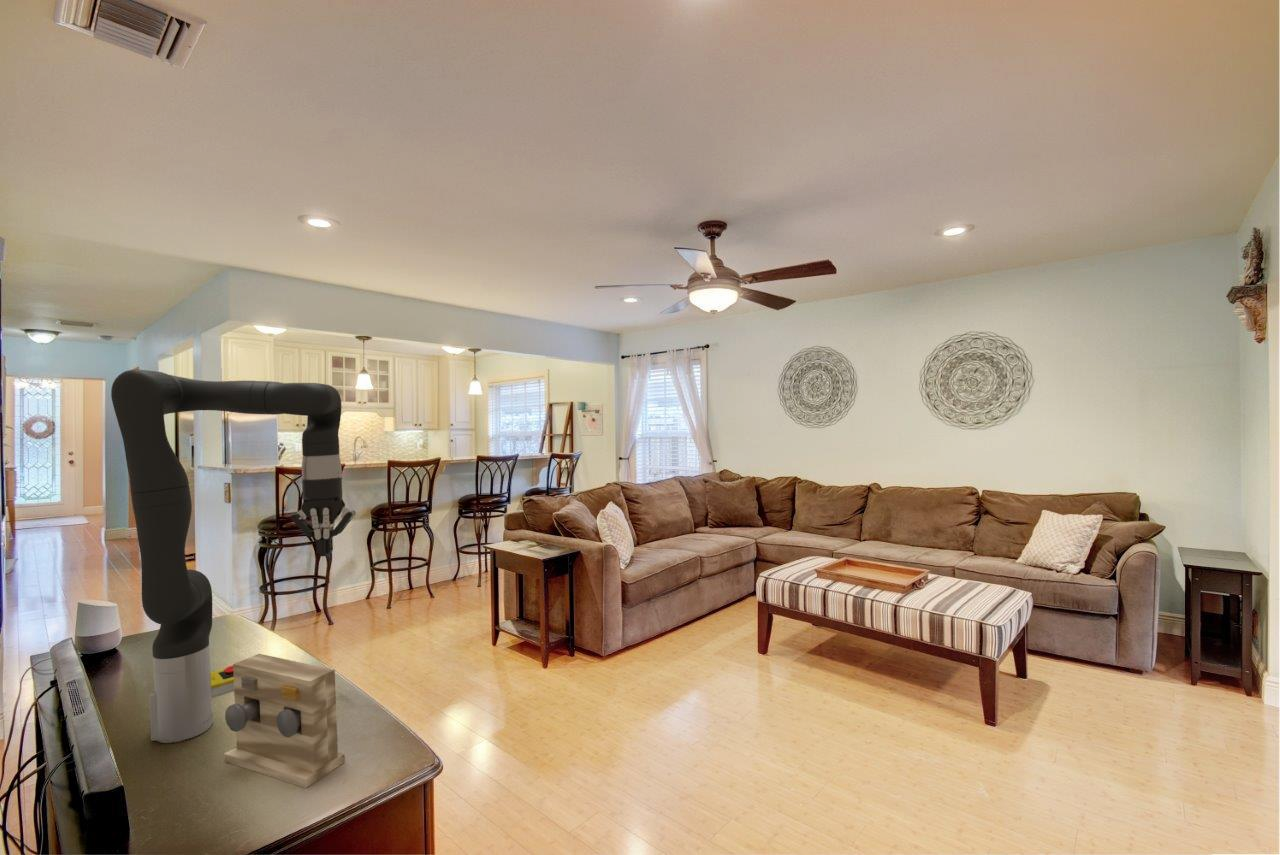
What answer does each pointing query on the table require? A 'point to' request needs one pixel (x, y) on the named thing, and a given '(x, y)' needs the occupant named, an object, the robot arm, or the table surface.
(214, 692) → the emergency button
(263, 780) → the table surface
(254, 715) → the grey button
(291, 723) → the grey rounded knob
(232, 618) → the table surface
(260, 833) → the table surface
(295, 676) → the birch console
